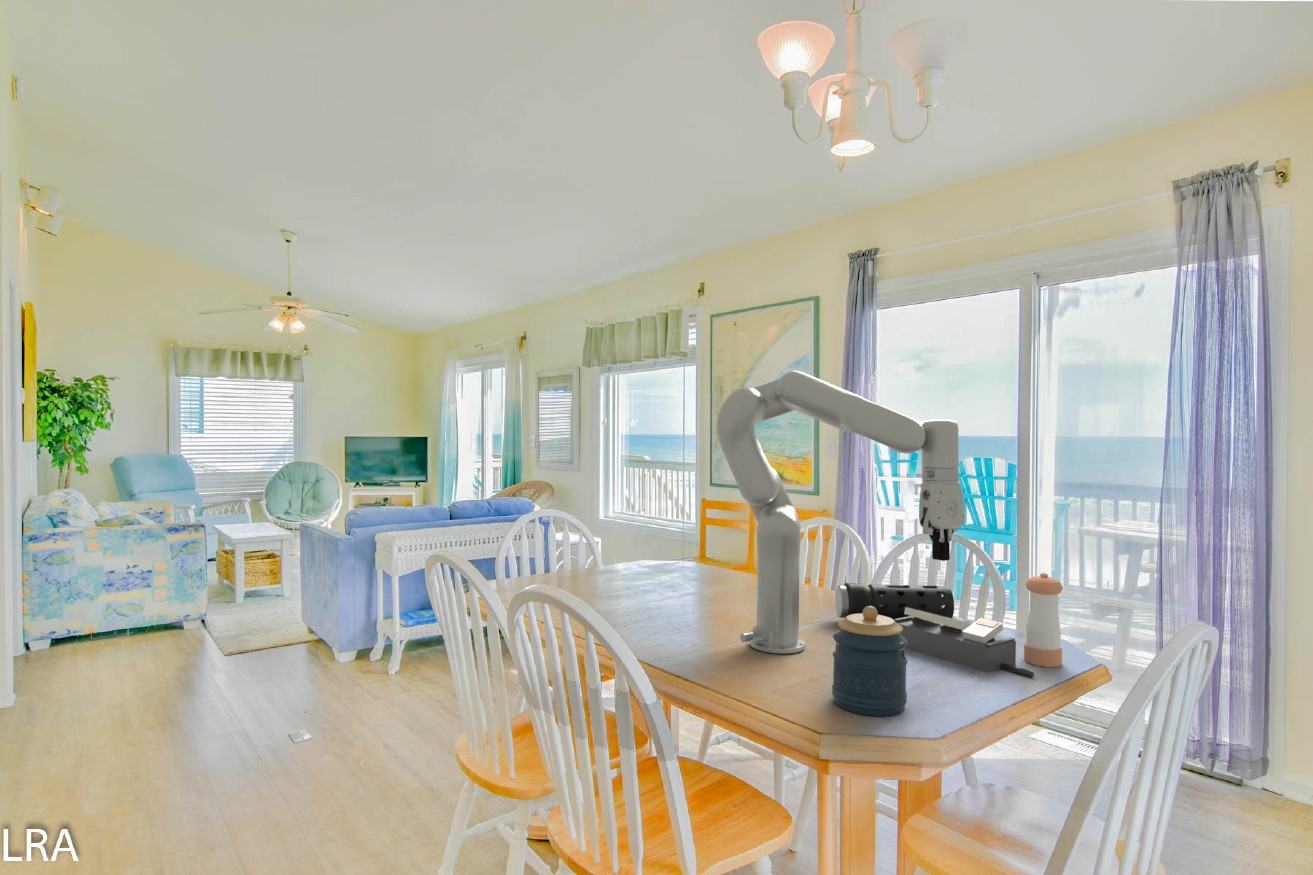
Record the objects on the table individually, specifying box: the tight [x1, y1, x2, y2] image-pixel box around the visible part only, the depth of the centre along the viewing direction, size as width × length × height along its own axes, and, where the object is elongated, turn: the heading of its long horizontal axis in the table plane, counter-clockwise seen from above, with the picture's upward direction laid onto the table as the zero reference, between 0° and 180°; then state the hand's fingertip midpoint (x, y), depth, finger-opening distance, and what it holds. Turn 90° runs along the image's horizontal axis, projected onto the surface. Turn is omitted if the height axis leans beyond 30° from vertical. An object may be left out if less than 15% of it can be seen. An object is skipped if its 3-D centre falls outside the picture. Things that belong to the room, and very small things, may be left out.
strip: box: [894, 616, 1035, 678], centre depth 160 cm, size 10×31×6 cm, turn 33°
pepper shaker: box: [1023, 572, 1064, 668], centre depth 157 cm, size 7×7×19 cm
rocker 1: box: [904, 607, 941, 624], centre depth 169 cm, size 7×5×2 cm
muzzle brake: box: [834, 582, 955, 620], centre depth 188 cm, size 10×28×10 cm, turn 89°
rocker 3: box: [962, 617, 1004, 644], centre depth 156 cm, size 7×5×2 cm
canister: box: [831, 606, 908, 717], centre depth 131 cm, size 13×13×18 cm
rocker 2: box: [932, 614, 972, 630], centre depth 163 cm, size 7×5×2 cm
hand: (940, 559), depth 159 cm, fingers closed
